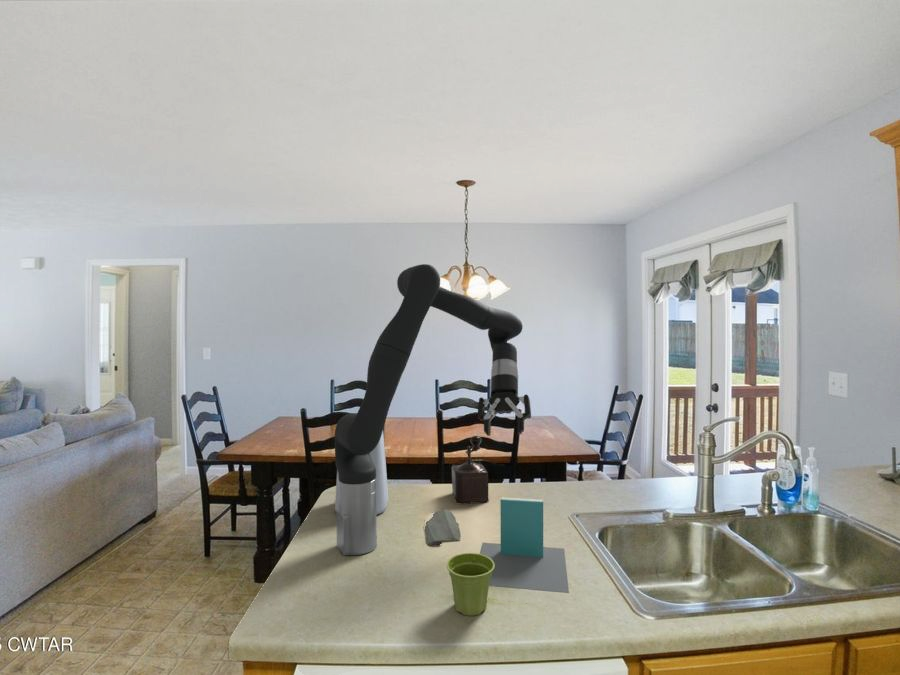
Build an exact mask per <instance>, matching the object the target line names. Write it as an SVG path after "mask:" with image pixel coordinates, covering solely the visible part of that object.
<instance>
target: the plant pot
mask: <svg viewBox="0 0 900 675" xmlns="http://www.w3.org/2000/svg"><path fill="white" fill-rule="evenodd" d="M446 568H447V569H446V570H447V571H448V572H449V574H448V575H449V577H450V580H451V586H452V591H453V592H452V593H453V594H452V595H453V600H454V608H455V609H456V611H457V612H459V613H461V614H463V615H464V616H469V617H471V616H473V617H474V616H478V615H480V614H481V613H482V612H484V611H486V609H487V604H488V595H489V590H490V586H489V583H490V577H491V575H492V571H493V570H494V568H495V564H494V562H493V560H492V559H491V558H489V557H487V556H485V555H482V554H480V553H477V552H466V553H459V554H455V555H453V556H451V557H450V558H449V559H448V560H447V562H446Z"/></svg>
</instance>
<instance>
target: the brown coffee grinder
mask: <svg viewBox="0 0 900 675" xmlns="http://www.w3.org/2000/svg"><path fill="white" fill-rule="evenodd" d="M482 441H483V440H482V438H481V437H480V436H479V435H474V436H473V435H472V437H470V439H469V442H470V444H471V445H472V446H467V447H466V450H465V452H464V453H465V454H466V455H467V461H466V462H464V463H462V464H460V465H459V464H457V465H452V466H451V485H452V497H453V496H454V497H453V498H455V499H454V501H455V500H456V501H455V502H457V503H467V504H472V503H471V502H482V503H488V502H487V501H489V502H490V499H489V472H488V471H487V469H486V468H485V466H484V465H483V464H482V463H481V461H478V463H477V462H475V461H472V459H471V458H472V457H471V454H472V453H473V452H477V451H478V450H481V447H480V445H481V443H482ZM457 503H456V504H457Z"/></svg>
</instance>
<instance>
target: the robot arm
mask: <svg viewBox="0 0 900 675" xmlns="http://www.w3.org/2000/svg"><path fill="white" fill-rule="evenodd" d="M396 281H397V282H396V284H397V290H398V292H399V293H400V295H401V296H403V299H402V302H401V304H400V306H399V308H398V310H397V311H396V313H395V314H394V316H393V317H392V318H391V320H390V321H389V322H388V324H387V325H386V326H385V328H384V329H383V331H382V332H381V333H380V335H379V336H378V339H377V341H376V343H375V344H374V348H373V351H372V352H371V354H370V358H369V361H368V364H367V375H366V389H365V393H364V397H363V399H362V402H361V404H360V406H359V409H358V411H357V413H356V412H351V413H347V414H344V415H343V416H342V417H340V419H339V420H338V421H337V423H336V426H335V430H334V456H335V457H334V458H335V460H334V461H335V467H336V472H337V471H338V476H339V508H338V509H337V510H336V511H335V512H336V513H335V514H336V516H335V517H336V547H337V549H339V551H340V552H341V553H342V555H343V556H349V555H352V556H357V555H364V554H368V553H371V552H372V551H373V550H375V549H376V548H377V546H378V541H377V540H378V534H377V532H378V531H377V530H378V529H377V527H378V526H377V525H378V524H377V523H378V522H377V521H378V520H377V518H378V517H377V515H376V468H375V465H374V464H373V462H372V459H371V456H370V452H372V451H373V450H374V449H375V447H376V446H377V445H378V443H379V441H380V438H381V435H382V432H383V433H384V429H385V424H386V421H387V420H386V419H387V417H388V414H389V409H390V407H391V404H392V401H393V399H394V397H395V394H396V391H397V389H398V386H399V383H400V381H401V378H402V375H403V373H404V371H405V369H406V367H407V364H408V361H409V359H410V356H411V354H412V351H413V349H414V346H415V344H416V341H417V338H418V336H419V333H420V330H421V328H422V325H423V322H424V320H425V319H426V316H427V314H428V313H429V312H428V311H429V310H430V308H431V307H432V308H435V309H437V310H440V311H442V312H444V313H447V314H448V315H451V316H453V317H455V318H456V319H459V320H461V321H463V322H465V323H467V324H469V325H470V326H472V327H474V328H476V329H479V330H481V331H485V330H486V331H487V336H488V340H489V344H490V349H491V351H492V360H491V361H492V364H491V371H490V373H491V374H490V397H489V398H483V397H479V398H478V409H477V415H476V416H477V418H478V419H479V421H481V422H483V432H484V433H485V434H486V435H487V437H488V436H491V427H492V426H491V425H492V423H491V421H492V419H494V418H495V417H496V416H497V414H499V415H503V414H511V413H514V414H515V416H517V434H518V435H522V434H523V433H524V431H525V420H528V419H531V418H532V412H531V410H532V409H531V400H530V397H529V395H528V394H524V395H523V396H519V370H518V350H517V347H516V346H515V344H514V343H513V344H512V343H511V342H508V341H510V340H512V339H514V338H516V337H517V336H519V335H520V334H521V333H522V331H523V323H522V321H521V319H520V318H519V317H518V315H516V314H514V313H513V312H510V311H506V310H502V309H498V308H492V307H490V306H489V305H487V304H485V303H482V302H481V301H479V300H477V299H475V298H473V297H470V296H467V295H465V294H461V293H458V292H454V291H452V290H449V289H446V288H444V287H443V286H441V277H440V273H439V271H438V269H436V267H435V266H433V265H432V264H428V263H427V264H426V263H425V264H418V265H414V266H409V267H408V268H406V269H404V270H403V271H401V272H400V273H399V275H398V277H397V280H396ZM520 402H521V403H522V405H524V412H523V413H522V412H521V411H520V410H519V408H518V407H517V406H519V404H520ZM488 405H490V407H489V408H488V410H487V412H486V413H485V411H486V407H487V406H488Z"/></svg>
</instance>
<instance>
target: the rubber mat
mask: <svg viewBox="0 0 900 675" xmlns="http://www.w3.org/2000/svg"><path fill="white" fill-rule="evenodd" d="M479 554H482V555H485V556H487V557H489V558H491V559H492V560H493V562H494V564H495V568H494V570H493V571H492V575H491V577H490V583H489V587H499V588H510V589H520V590H521V589H523V590H531V591H532V590H533V591H543V592H553V593H566V594H569V593H570V589H569V582H568V571H567V564H566V554H565V548H561V547H550V546H549V547H545V546H543V557H532V556H520V555H507V554H501V543H493V542H492V543H491V542H482V544H481V546H480V551H479Z"/></svg>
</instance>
